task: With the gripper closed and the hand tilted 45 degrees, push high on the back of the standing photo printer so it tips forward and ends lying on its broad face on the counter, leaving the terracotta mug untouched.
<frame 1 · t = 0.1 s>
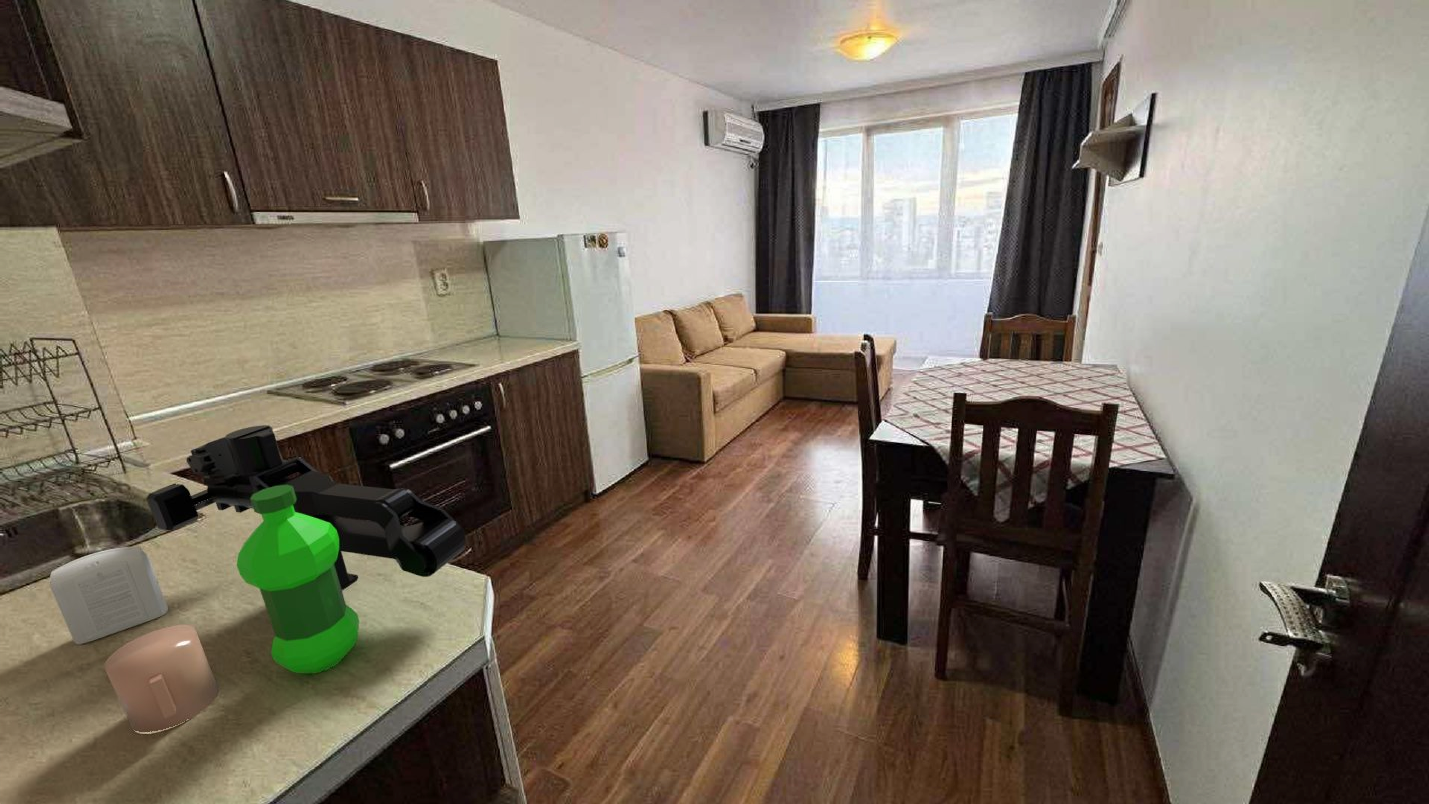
hand: (188, 482, 97), 17 cm above the counter, tool horizontal, fingers open, 9 cm apart
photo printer: (124, 626, 87), on the counter
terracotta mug: (176, 707, 71), on the counter
plastic bottle: (324, 660, 78), on the counter
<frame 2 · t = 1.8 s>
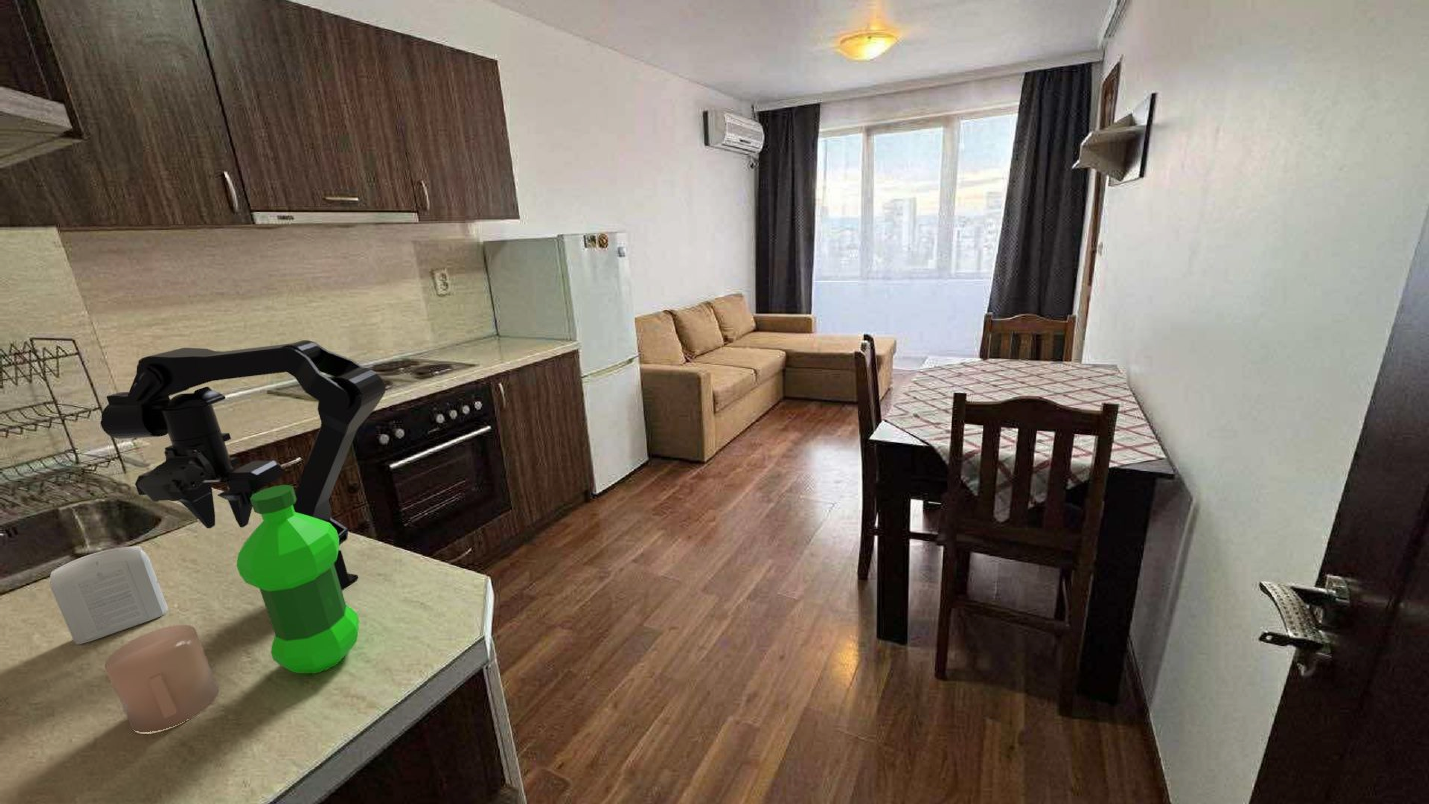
hand: (227, 526, 90), 12 cm above the counter, tool pointing down, fingers open, 5 cm apart
nothing on the counter moved.
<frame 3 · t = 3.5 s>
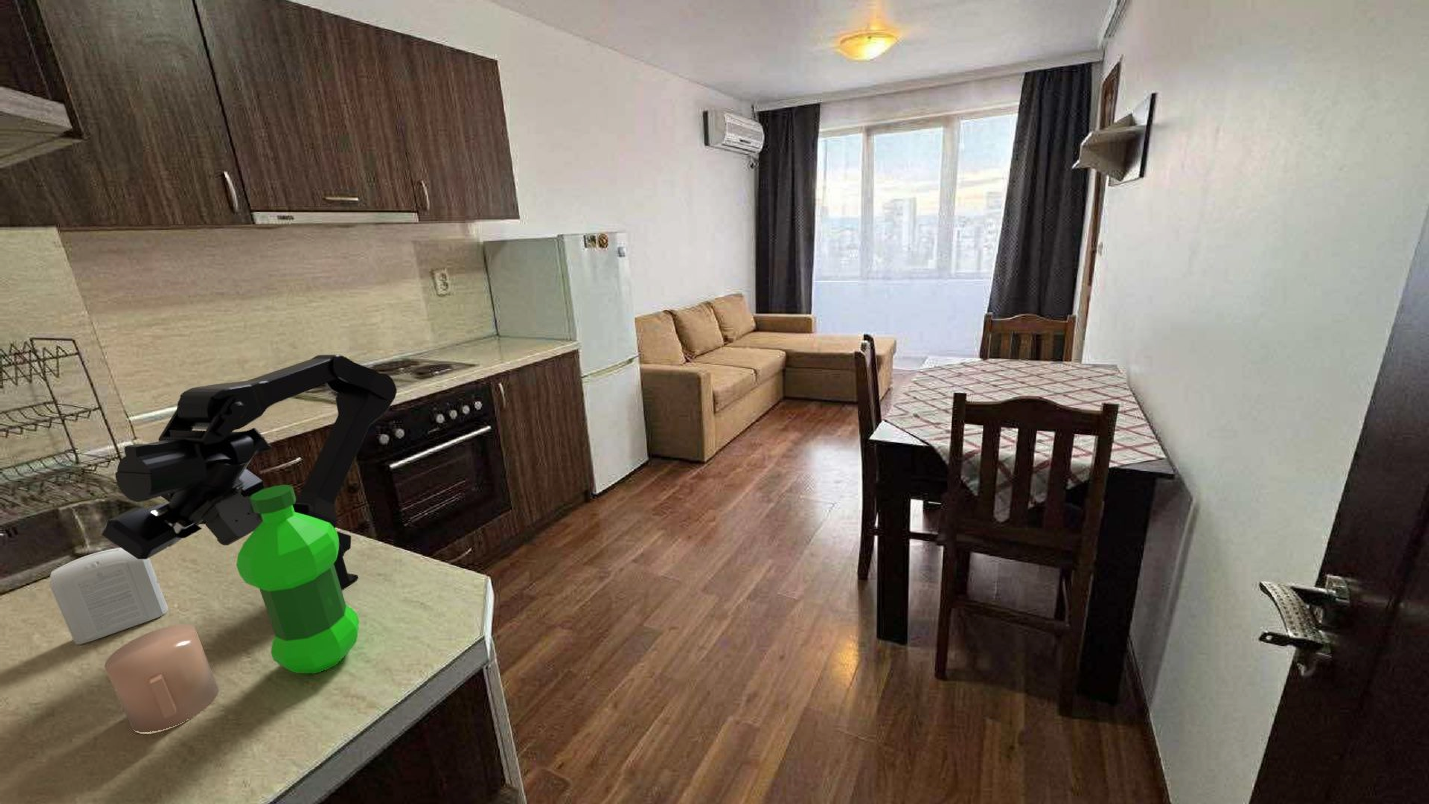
hand: (168, 543, 83), 14 cm above the counter, tool tilted 45°, fingers closed
nothing on the counter moved.
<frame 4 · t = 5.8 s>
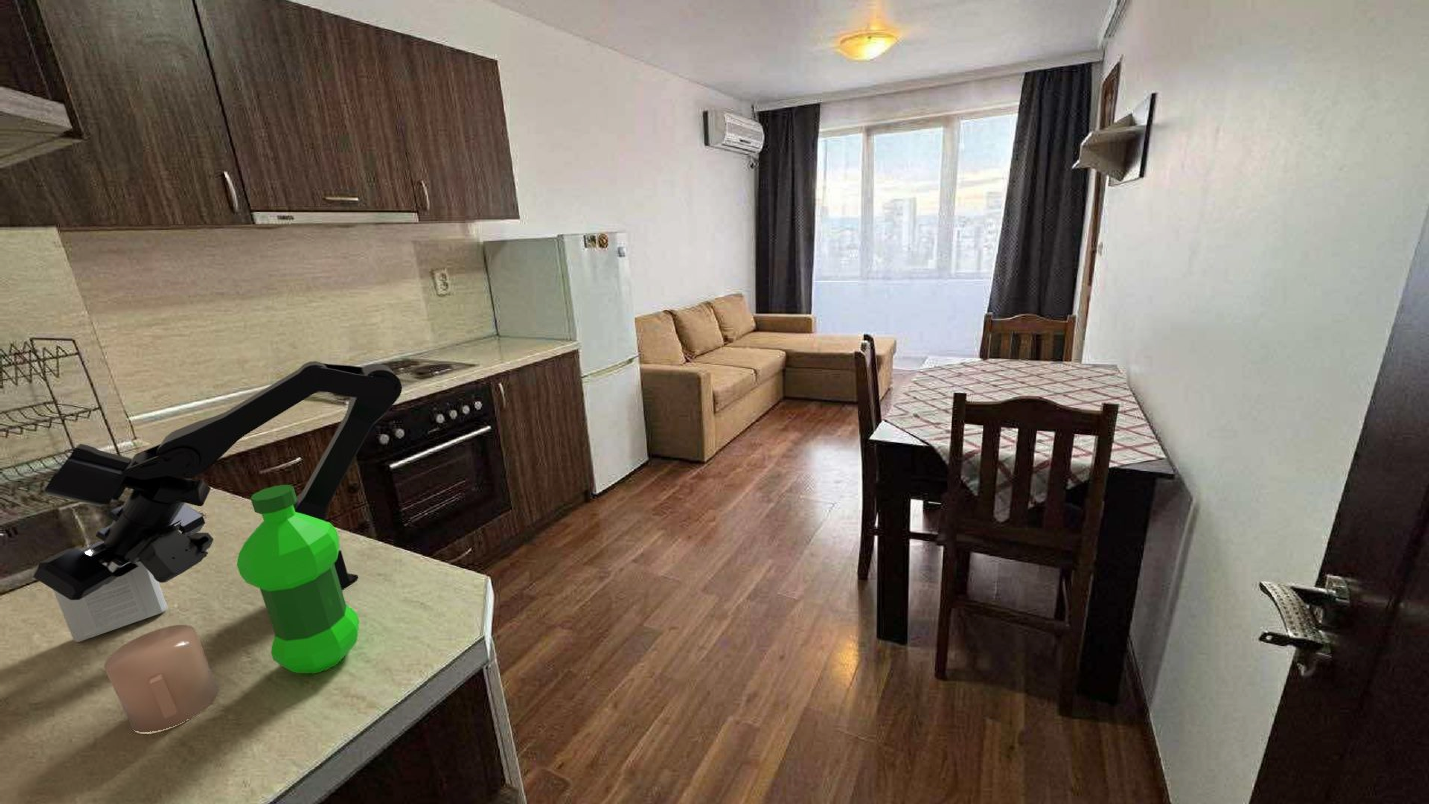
hand: (105, 581, 84), 8 cm above the counter, tool tilted 45°, fingers closed
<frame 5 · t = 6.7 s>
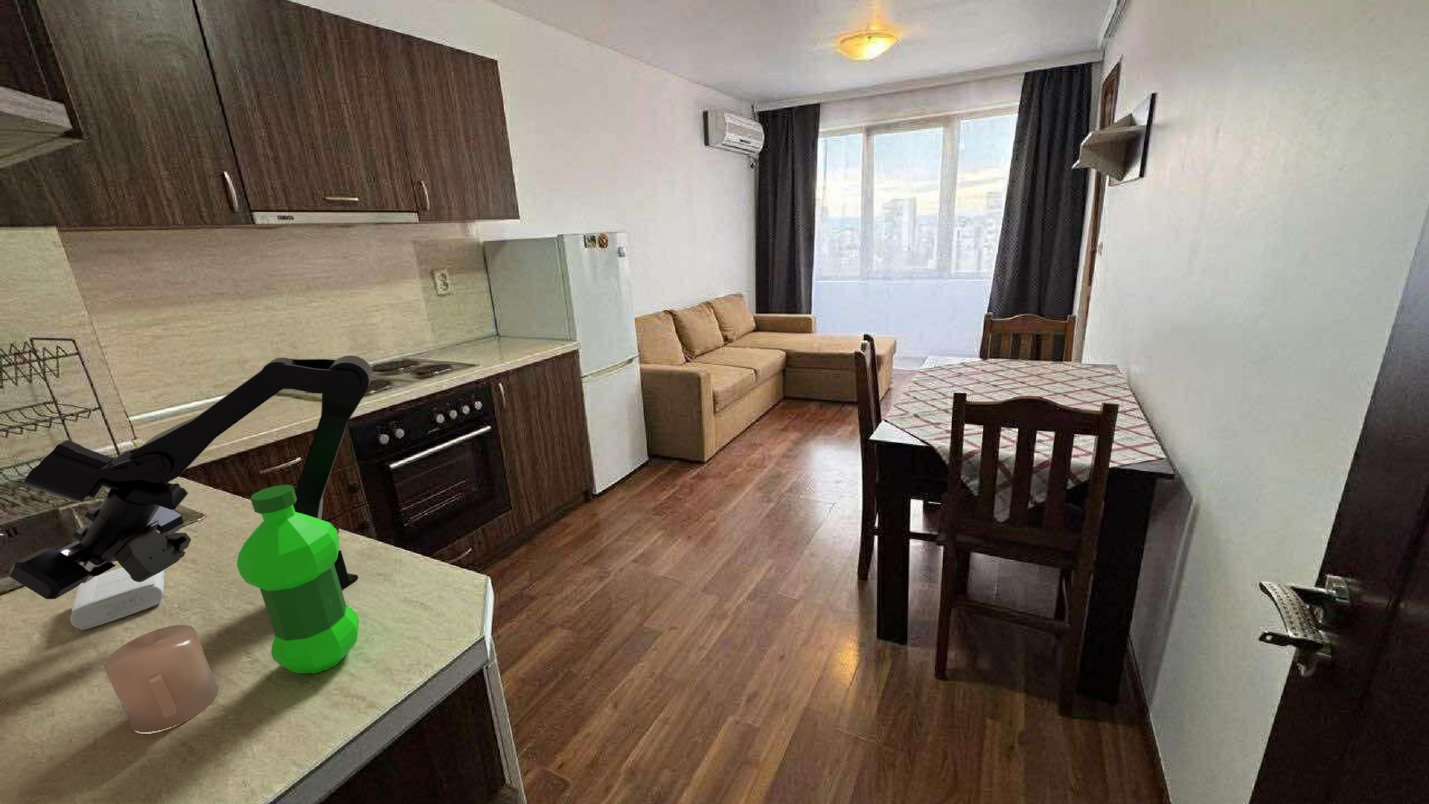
hand: (83, 580, 85), 8 cm above the counter, tool tilted 45°, fingers closed
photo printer: (119, 607, 88), point 2 cm above the counter
everything else where it was.
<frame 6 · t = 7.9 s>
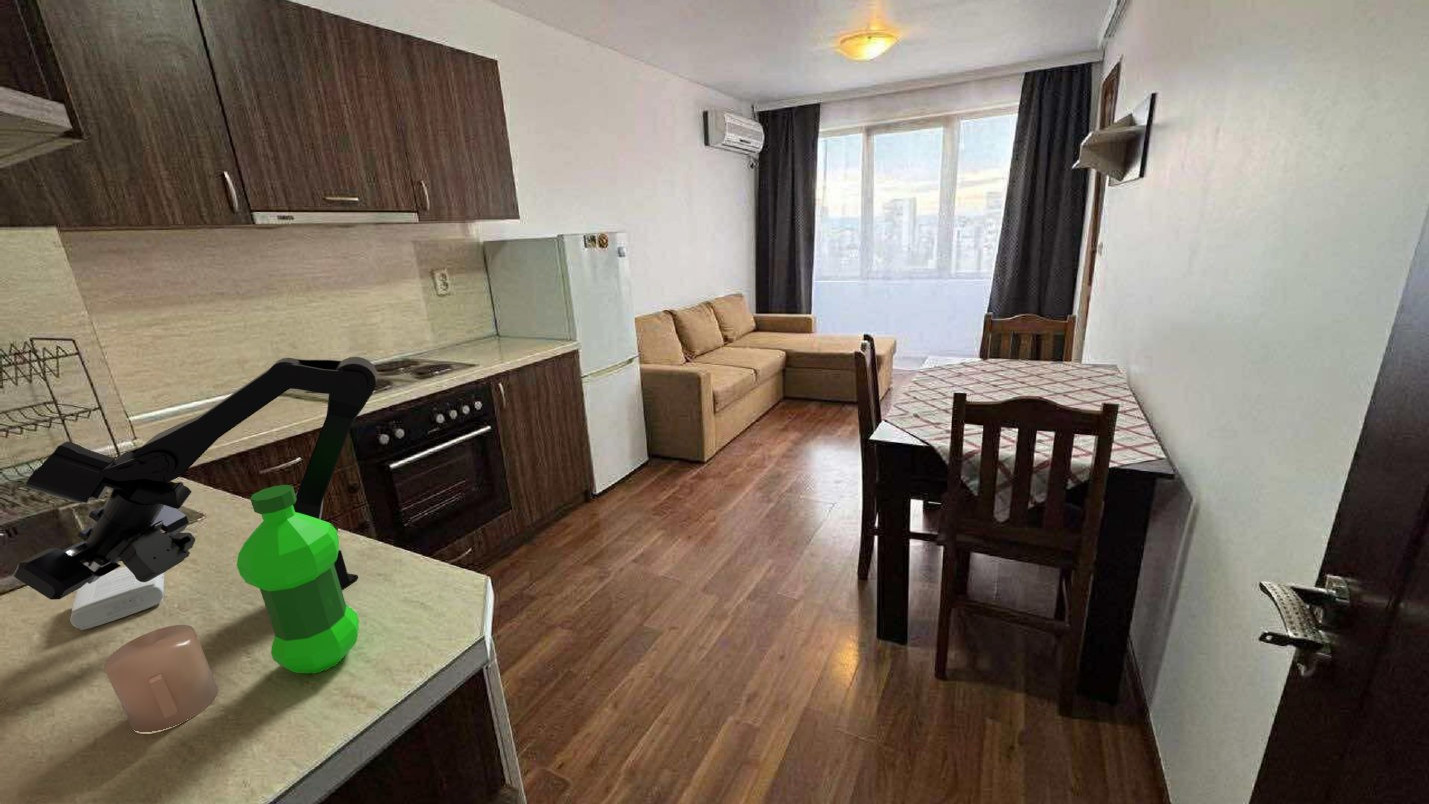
hand: (89, 580, 85), 8 cm above the counter, tool tilted 45°, fingers closed
nothing on the counter moved.
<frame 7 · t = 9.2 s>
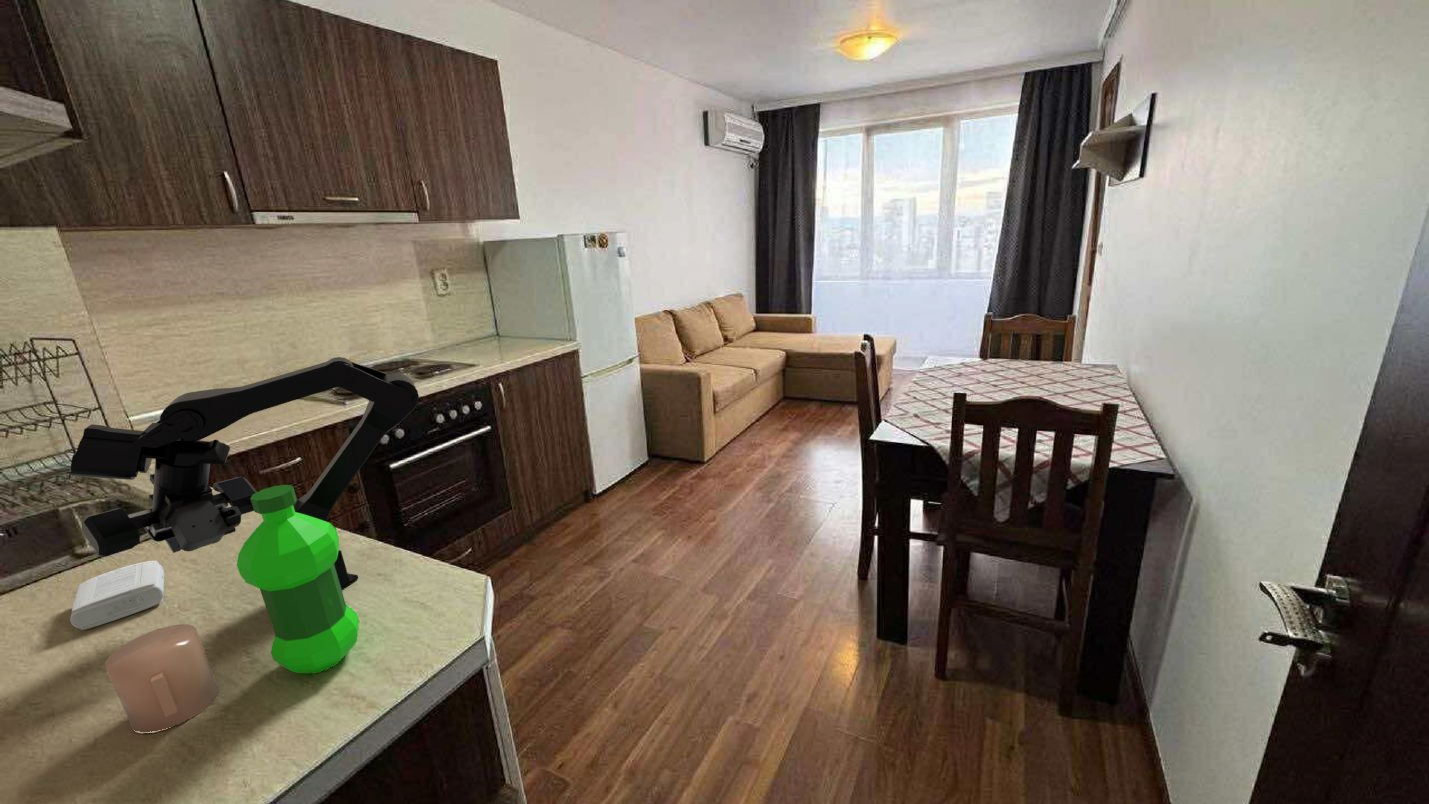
hand: (175, 550, 89), 10 cm above the counter, tool tilted 35°, fingers closed
nothing on the counter moved.
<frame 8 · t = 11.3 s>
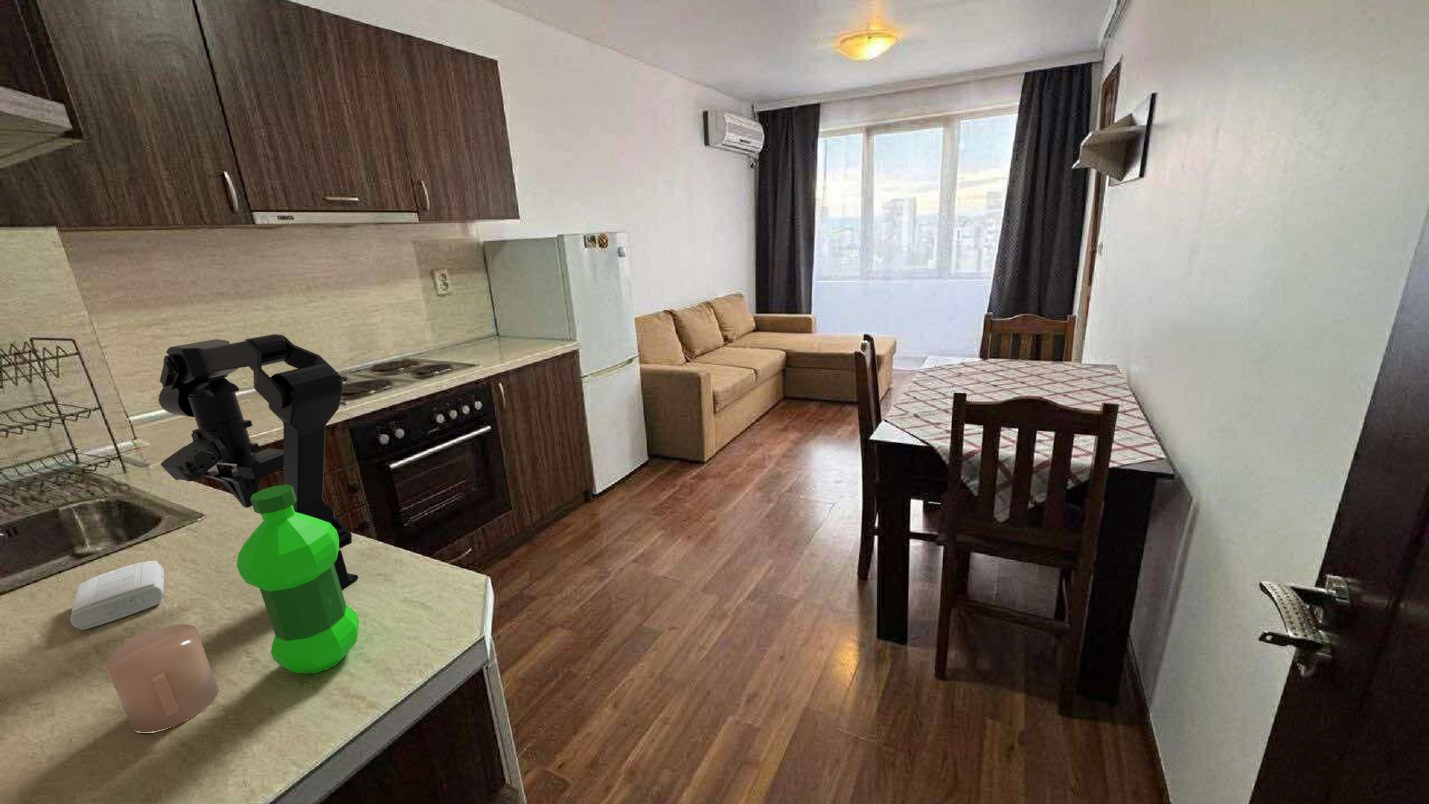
hand: (248, 506, 97), 12 cm above the counter, tool pointing down, fingers closed
nothing on the counter moved.
at the end: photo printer tilted 91°; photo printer inside the target area (2.7 cm from its centre), point 2.2 cm above the counter; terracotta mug moved 0.0 cm from its start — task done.
